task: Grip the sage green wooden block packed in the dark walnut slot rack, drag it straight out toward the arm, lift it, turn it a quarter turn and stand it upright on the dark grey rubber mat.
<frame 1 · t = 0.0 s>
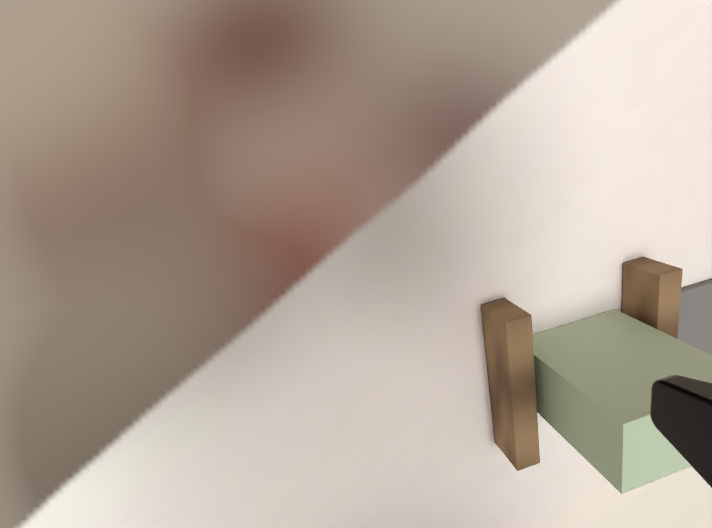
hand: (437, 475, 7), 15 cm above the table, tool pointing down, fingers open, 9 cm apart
green block: (566, 351, 27), on the table
slot rack: (567, 352, 27), on the table
floor mat: (704, 368, 30), on the table
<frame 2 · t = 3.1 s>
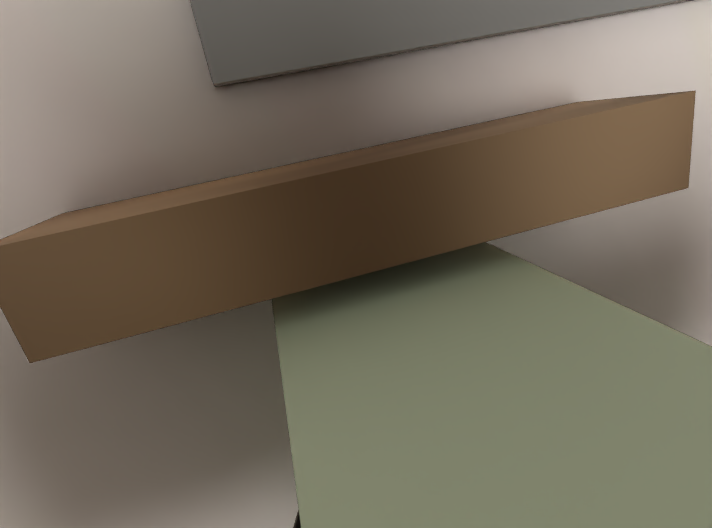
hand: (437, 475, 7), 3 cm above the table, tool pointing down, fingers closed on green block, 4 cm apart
green block: (392, 392, 10), on the table, touching gripper
slot rack: (392, 393, 10), on the table
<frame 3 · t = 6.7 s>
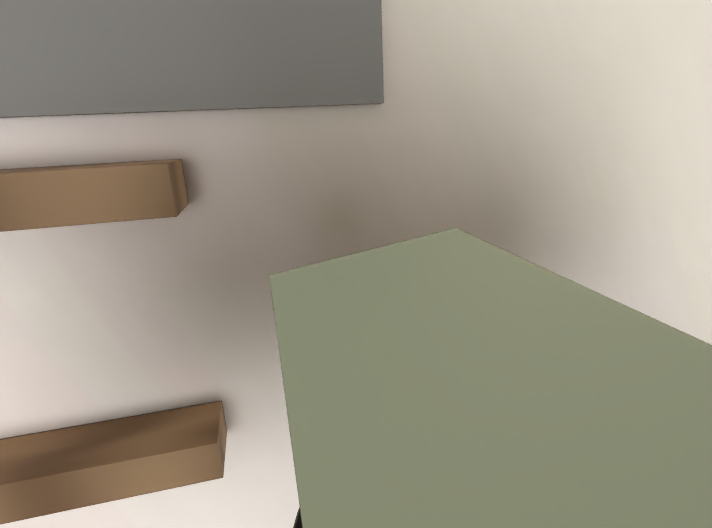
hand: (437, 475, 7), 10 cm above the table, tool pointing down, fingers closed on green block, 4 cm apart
green block: (392, 392, 10), point 7 cm above the table, touching gripper
slot rack: (56, 329, 15), on the table
when the fingers open (4 cm above the table, at t = 10.4 s): green block drops 1 cm, resting on floor mat.
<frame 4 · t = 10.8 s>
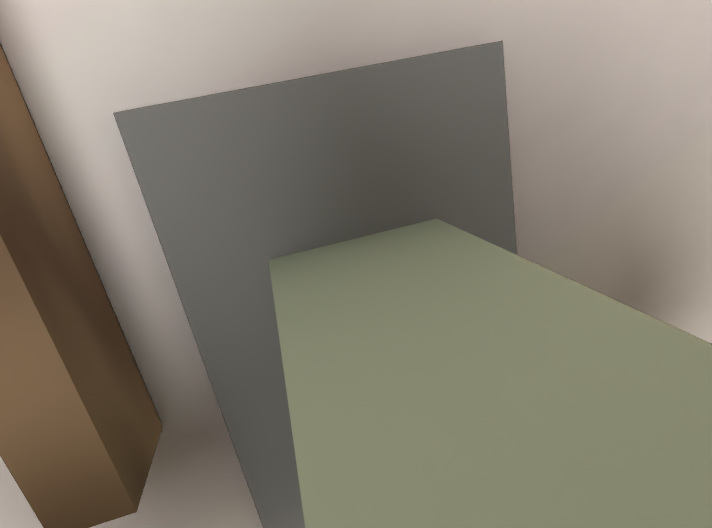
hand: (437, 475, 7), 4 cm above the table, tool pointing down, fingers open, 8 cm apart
green block: (380, 368, 11), resting on floor mat
floor mat: (376, 361, 11), on the table
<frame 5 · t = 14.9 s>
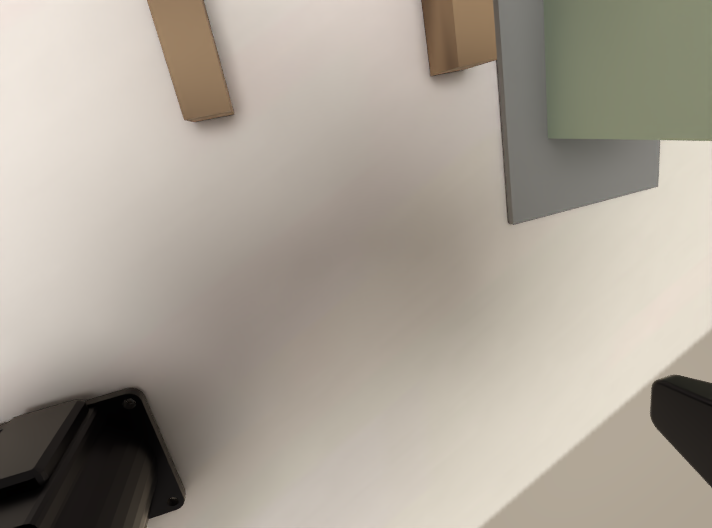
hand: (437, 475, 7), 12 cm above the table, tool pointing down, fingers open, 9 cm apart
green block: (586, 44, 18), resting on floor mat
floor mat: (580, 47, 18), on the table
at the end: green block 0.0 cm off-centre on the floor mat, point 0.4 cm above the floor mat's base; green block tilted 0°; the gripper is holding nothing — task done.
